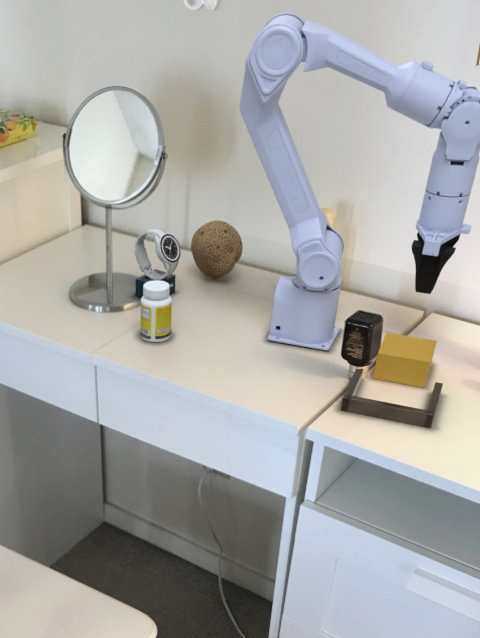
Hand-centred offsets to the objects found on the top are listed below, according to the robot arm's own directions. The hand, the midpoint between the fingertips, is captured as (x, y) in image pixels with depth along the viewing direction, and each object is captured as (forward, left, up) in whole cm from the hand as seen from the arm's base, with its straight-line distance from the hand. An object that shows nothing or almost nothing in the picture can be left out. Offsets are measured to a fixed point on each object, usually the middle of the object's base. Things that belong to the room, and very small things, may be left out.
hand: (425, 287), depth 117 cm
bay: (0, -18, -9) cm, 20 cm away
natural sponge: (-36, +14, -10) cm, 40 cm away
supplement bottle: (-37, -12, -10) cm, 40 cm away
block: (0, -9, -9) cm, 13 cm away
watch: (-43, +3, -10) cm, 44 cm away
